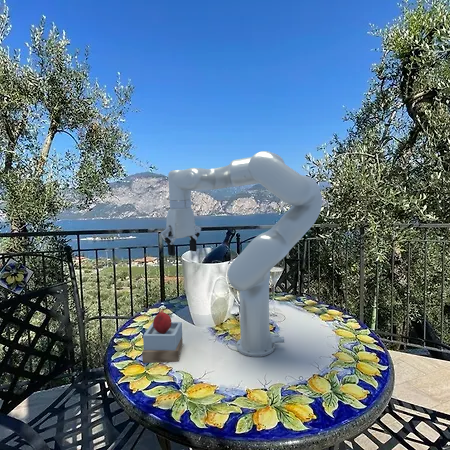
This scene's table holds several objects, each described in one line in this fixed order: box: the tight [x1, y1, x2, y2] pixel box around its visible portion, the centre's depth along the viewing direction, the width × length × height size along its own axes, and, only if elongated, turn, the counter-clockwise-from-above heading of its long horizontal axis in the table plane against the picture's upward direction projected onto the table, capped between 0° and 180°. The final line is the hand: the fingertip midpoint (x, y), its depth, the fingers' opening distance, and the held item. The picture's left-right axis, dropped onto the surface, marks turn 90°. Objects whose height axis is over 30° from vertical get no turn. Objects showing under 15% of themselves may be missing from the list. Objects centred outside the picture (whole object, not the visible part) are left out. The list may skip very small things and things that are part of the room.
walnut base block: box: [141, 337, 184, 364], centre depth 101 cm, size 11×11×4 cm
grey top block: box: [142, 321, 183, 350], centre depth 100 cm, size 10×10×5 cm
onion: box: [152, 309, 172, 334], centre depth 100 cm, size 6×6×8 cm
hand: (182, 253), depth 111 cm, fingers open, 9 cm apart
